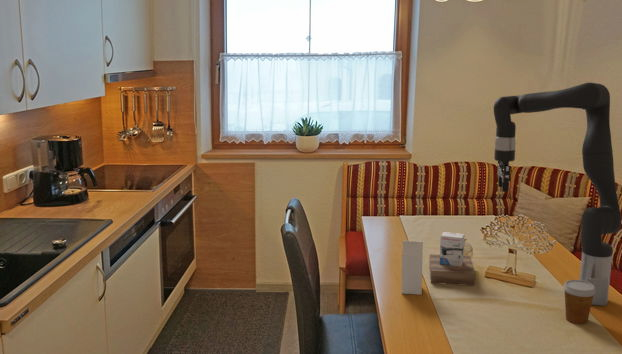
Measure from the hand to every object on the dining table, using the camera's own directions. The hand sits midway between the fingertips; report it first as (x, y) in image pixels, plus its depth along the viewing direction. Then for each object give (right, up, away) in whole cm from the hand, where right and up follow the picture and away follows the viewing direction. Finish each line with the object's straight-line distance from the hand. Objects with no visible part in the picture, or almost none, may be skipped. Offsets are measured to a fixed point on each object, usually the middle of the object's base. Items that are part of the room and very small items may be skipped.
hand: (503, 189), depth 223 cm
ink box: (-21, -29, -2) cm, 36 cm away
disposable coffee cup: (+10, -42, -40) cm, 58 cm away
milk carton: (-38, -37, -15) cm, 55 cm away
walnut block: (-21, -34, -1) cm, 40 cm away
